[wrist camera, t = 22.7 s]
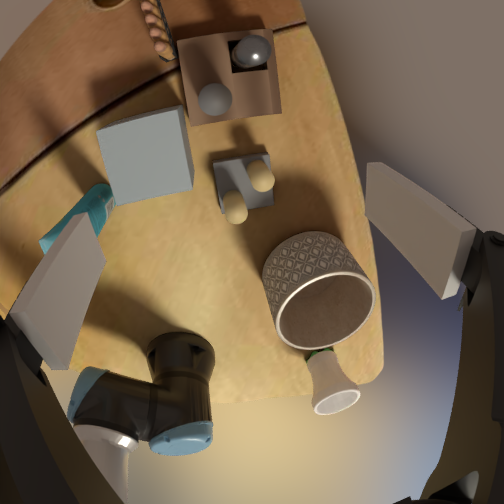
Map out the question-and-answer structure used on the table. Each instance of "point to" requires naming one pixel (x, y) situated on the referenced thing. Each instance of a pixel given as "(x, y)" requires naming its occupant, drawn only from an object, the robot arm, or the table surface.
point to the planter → (316, 291)
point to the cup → (330, 384)
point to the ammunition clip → (159, 29)
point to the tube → (93, 202)
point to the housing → (147, 155)
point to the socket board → (226, 80)
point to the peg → (250, 52)
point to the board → (244, 184)
